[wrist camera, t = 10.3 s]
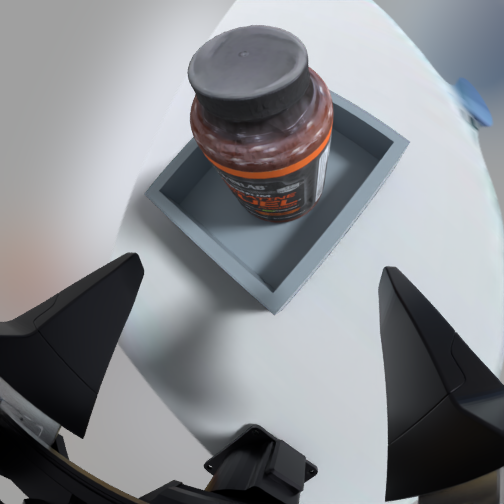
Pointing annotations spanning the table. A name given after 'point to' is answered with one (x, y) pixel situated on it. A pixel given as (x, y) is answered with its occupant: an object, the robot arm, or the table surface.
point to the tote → (286, 233)
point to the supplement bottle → (262, 119)
